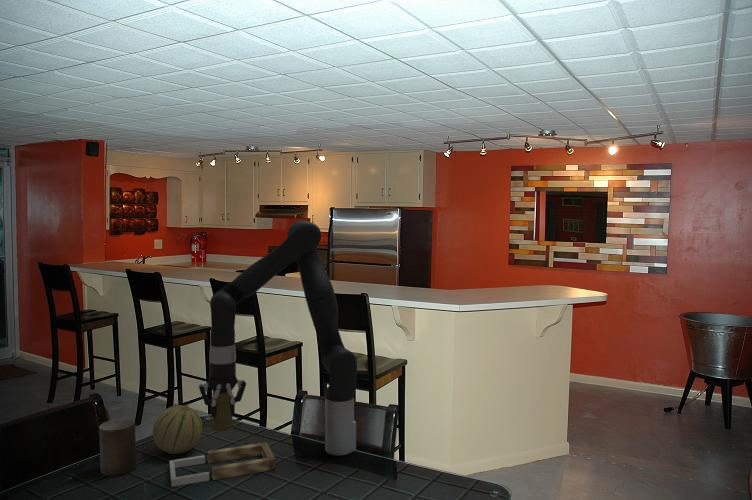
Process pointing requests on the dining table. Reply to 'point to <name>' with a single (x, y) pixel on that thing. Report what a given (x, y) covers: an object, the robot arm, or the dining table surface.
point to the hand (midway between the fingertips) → (222, 416)
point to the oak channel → (241, 467)
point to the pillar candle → (117, 447)
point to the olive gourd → (223, 413)
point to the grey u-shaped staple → (188, 478)
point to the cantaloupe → (177, 429)
